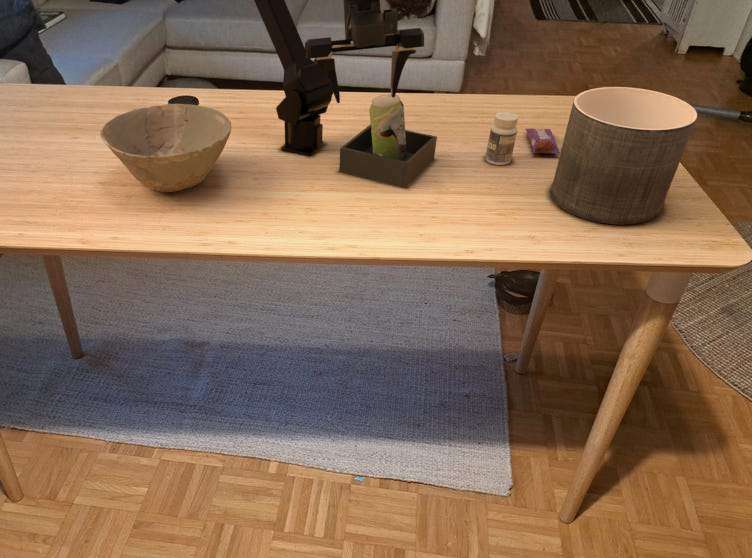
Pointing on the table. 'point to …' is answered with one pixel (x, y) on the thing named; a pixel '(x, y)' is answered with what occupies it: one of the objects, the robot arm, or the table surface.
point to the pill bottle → (502, 138)
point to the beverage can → (388, 127)
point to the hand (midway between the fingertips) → (365, 100)
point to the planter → (621, 154)
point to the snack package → (542, 141)
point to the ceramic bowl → (168, 143)
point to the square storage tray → (387, 159)
